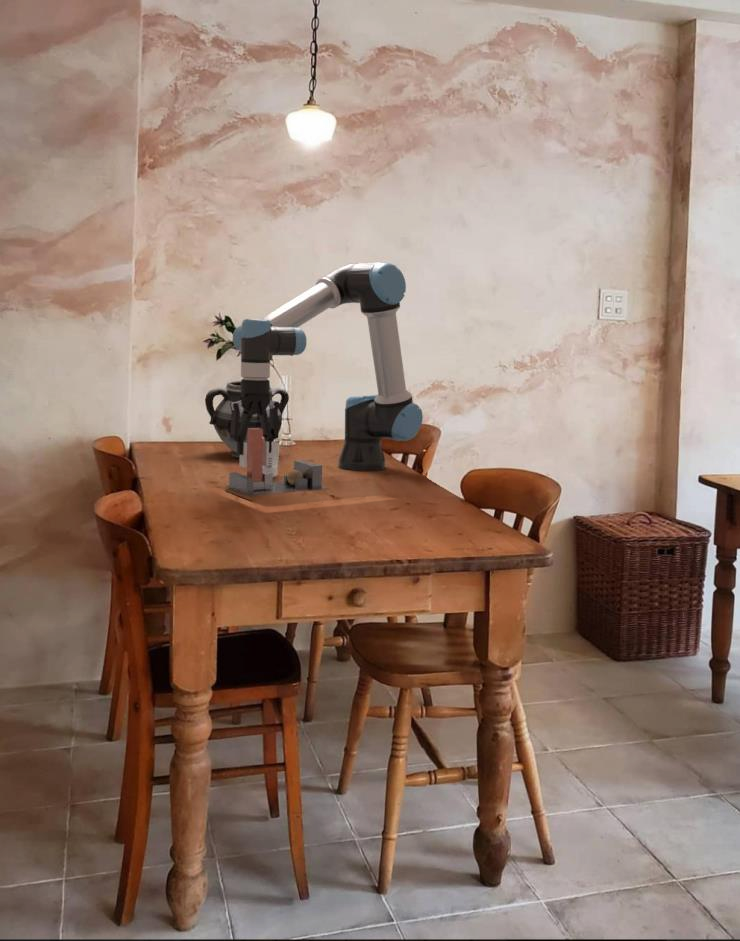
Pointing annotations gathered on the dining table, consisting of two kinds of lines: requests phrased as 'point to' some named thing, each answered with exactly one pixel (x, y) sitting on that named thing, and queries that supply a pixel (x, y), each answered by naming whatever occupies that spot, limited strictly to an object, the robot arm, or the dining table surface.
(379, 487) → the dining table surface
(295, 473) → the walnut
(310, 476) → the press base
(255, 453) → the ram handle
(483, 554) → the dining table surface
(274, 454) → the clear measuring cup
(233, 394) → the ceramic pot
